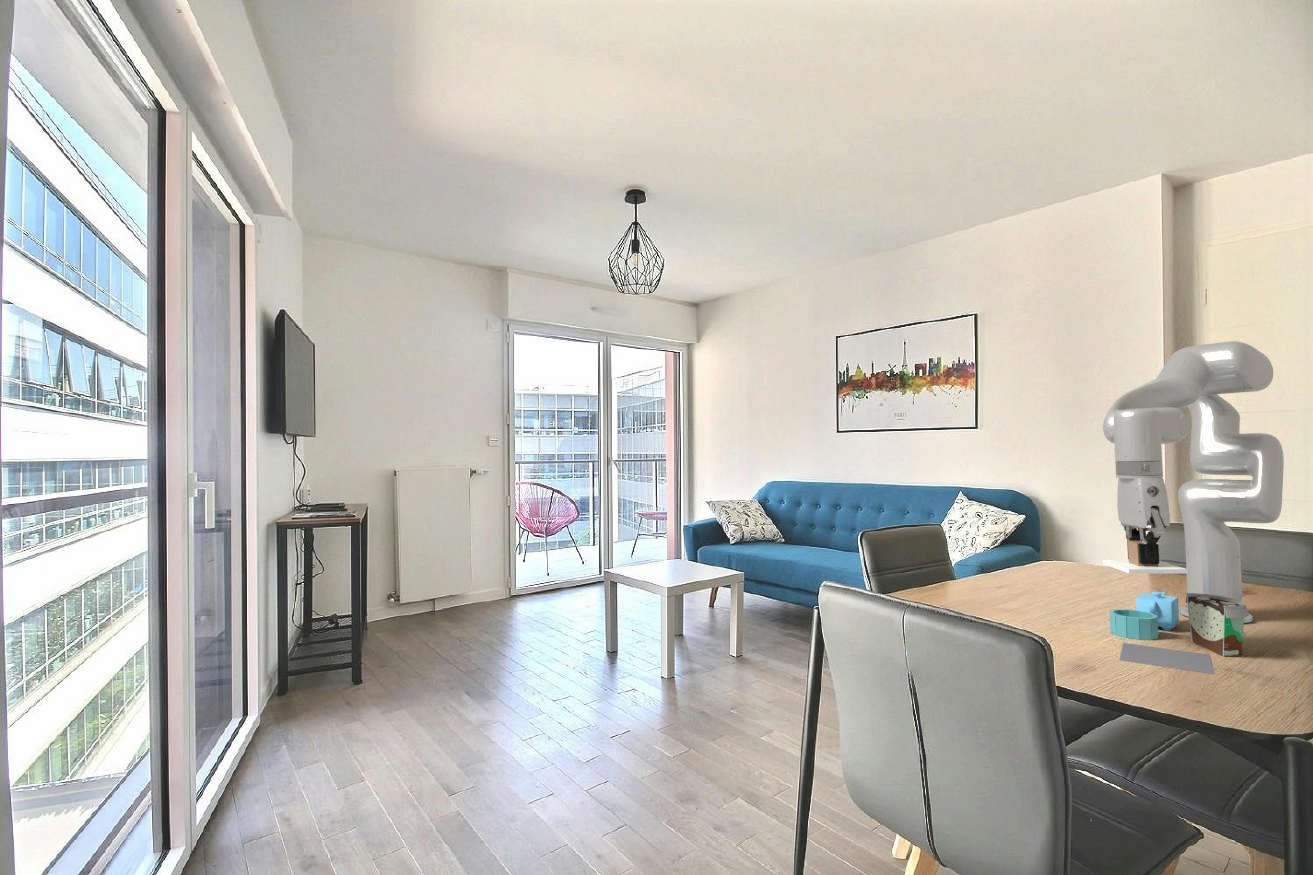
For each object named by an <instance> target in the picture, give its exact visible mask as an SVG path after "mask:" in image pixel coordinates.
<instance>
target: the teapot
mask: <svg viewBox="0 0 1313 875" xmlns="http://www.w3.org/2000/svg"><path fill="white" fill-rule="evenodd" d="M1135 606H1136V607H1135V608H1136V609H1135V610H1138V611H1144V612H1149V613H1153V614H1155V615H1157V616H1158V628H1159V627H1160V628H1161V629H1162V630H1163V631H1166V632H1167V631H1168V632H1172V629H1174V628H1176V626H1177V625H1178V624H1179V623H1180V616H1179V613H1180V607H1179V597H1178V596H1173V595H1172V596H1171V595H1166V591H1161V592H1159V591H1152V592H1151V593H1148V592H1143V593H1142V594H1140V595H1138V596H1137V597H1136V598H1135Z"/></svg>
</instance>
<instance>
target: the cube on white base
mask: <svg viewBox="0 0 1313 875" xmlns="http://www.w3.org/2000/svg"><path fill="white" fill-rule="evenodd" d="M1139 544H1142V543H1141V541H1128V548H1127V556H1128V555H1129V559H1103V560H1102V565H1105V566H1108V567H1111V568H1114V569H1116V570H1119V571H1121V572H1125V573H1127V574H1165V575H1166V574H1173V575H1174V574H1178V575H1179V574H1181V575H1182V574H1185V575H1187V574H1188V569H1186V567H1181V566H1179V565H1175V564H1171V563H1168V562H1164V561H1162V560H1159V564H1140V561H1139Z"/></svg>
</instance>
